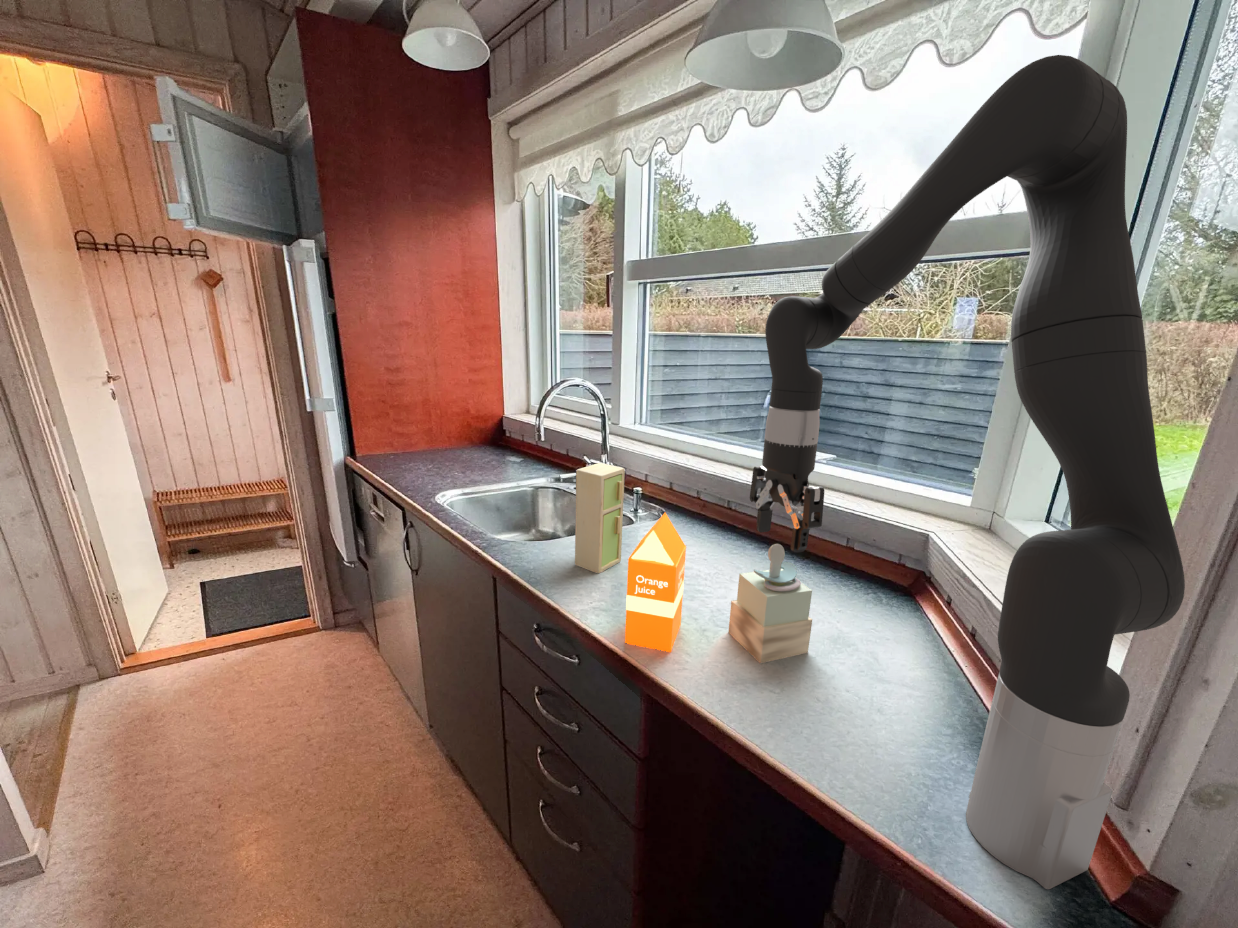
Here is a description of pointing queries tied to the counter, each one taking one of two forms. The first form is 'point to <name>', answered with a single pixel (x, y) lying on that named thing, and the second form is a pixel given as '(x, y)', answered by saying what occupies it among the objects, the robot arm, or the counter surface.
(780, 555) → the pacifier
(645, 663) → the counter surface
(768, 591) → the sage block
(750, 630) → the maple block
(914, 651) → the counter surface
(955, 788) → the counter surface
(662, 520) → the orange juice
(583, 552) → the toy refrigerator
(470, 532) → the counter surface
